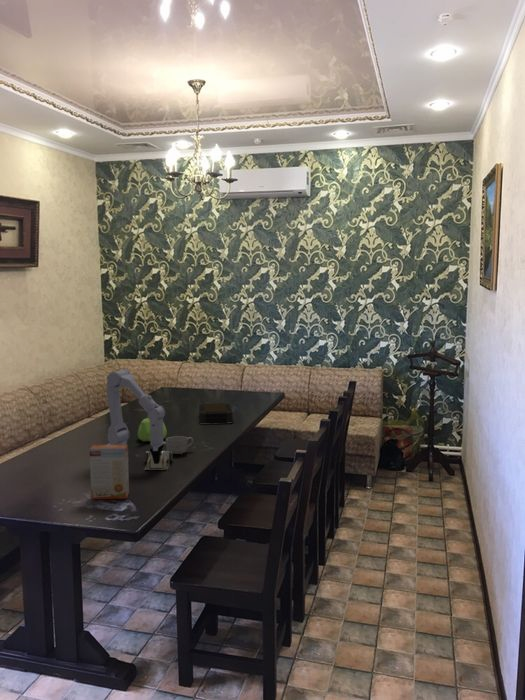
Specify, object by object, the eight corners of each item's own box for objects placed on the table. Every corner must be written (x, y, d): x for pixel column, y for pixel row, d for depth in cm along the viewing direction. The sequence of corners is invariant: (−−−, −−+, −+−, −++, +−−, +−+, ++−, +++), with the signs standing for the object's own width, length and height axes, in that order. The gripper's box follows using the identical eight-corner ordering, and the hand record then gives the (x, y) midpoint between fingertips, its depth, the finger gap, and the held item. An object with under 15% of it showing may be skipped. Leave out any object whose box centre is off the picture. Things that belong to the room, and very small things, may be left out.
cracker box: (129, 494, 236) (128, 443, 234) (126, 499, 230) (125, 448, 228) (94, 494, 236) (93, 444, 233) (90, 499, 230) (89, 448, 227)
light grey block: (150, 467, 266) (150, 455, 265) (152, 464, 271) (151, 452, 270) (161, 467, 266) (161, 455, 266) (162, 464, 271) (162, 452, 271)
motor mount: (142, 470, 264) (142, 458, 264) (146, 460, 279) (146, 449, 279) (170, 470, 265) (170, 458, 265) (172, 460, 280) (172, 448, 280)
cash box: (233, 424, 350) (233, 411, 349) (199, 425, 347) (199, 412, 346) (230, 414, 374) (230, 403, 374) (199, 415, 372) (198, 403, 371)
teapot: (154, 447, 301) (153, 422, 300) (128, 444, 306) (127, 420, 304) (172, 436, 322) (172, 413, 320) (148, 434, 326) (148, 411, 325)
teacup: (167, 457, 284) (167, 441, 283) (164, 451, 295) (164, 435, 294) (195, 455, 288) (195, 439, 287) (192, 449, 298) (192, 434, 297)
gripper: (164, 437, 260) (164, 466, 262) (167, 428, 274) (167, 456, 276) (148, 437, 259) (148, 466, 261) (151, 428, 274) (152, 456, 275)
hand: (157, 461), depth 269 cm, fingers closed on light grey block, 5 cm apart
